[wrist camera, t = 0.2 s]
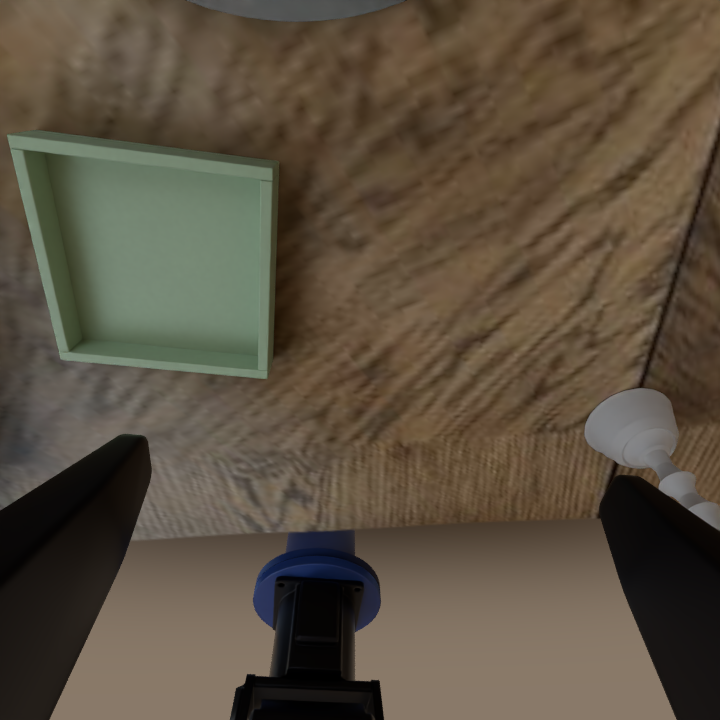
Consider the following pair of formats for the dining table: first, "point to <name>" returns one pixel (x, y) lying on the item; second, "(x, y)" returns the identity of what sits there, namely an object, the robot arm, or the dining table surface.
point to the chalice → (647, 444)
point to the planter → (296, 8)
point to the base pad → (153, 251)
